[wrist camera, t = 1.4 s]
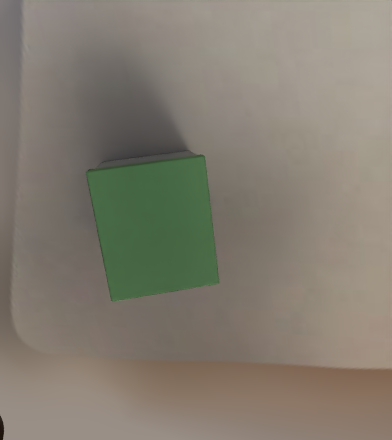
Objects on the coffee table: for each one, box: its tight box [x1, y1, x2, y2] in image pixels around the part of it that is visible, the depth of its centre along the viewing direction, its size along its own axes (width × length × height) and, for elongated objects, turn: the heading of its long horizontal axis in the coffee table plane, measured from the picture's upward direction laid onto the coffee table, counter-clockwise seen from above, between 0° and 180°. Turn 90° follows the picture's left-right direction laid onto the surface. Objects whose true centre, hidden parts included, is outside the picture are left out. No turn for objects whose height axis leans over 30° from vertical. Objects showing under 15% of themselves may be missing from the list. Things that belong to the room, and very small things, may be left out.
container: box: [86, 151, 219, 301], centre depth 19 cm, size 6×5×5 cm
